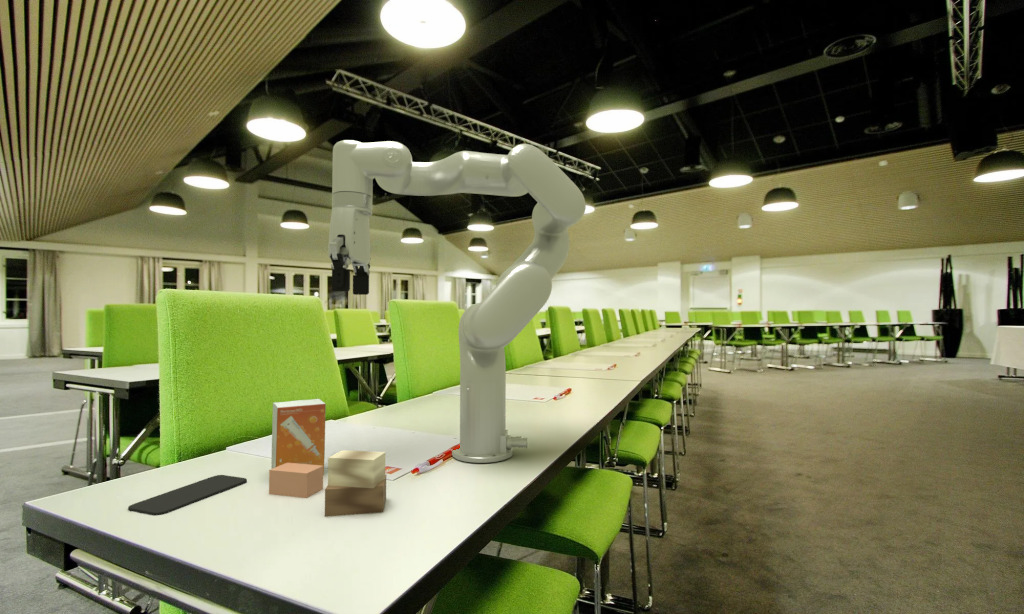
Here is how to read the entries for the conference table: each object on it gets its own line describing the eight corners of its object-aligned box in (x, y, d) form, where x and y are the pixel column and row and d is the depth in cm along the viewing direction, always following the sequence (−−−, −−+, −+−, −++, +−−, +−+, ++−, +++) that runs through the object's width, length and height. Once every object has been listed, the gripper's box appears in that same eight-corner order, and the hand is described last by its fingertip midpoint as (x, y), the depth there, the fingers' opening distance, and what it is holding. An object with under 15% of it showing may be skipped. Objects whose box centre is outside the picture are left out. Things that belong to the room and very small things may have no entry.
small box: (274, 484, 77) (276, 407, 78) (270, 474, 83) (272, 401, 83) (325, 475, 82) (326, 402, 82) (318, 466, 87) (319, 397, 88)
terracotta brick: (322, 490, 75) (323, 465, 75) (306, 499, 71) (306, 473, 71) (286, 486, 77) (287, 462, 77) (268, 495, 73) (269, 469, 73)
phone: (123, 507, 67) (218, 474, 81) (123, 512, 67) (218, 478, 81) (159, 513, 65) (250, 478, 79) (159, 519, 65) (250, 483, 79)
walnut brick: (386, 500, 71) (386, 474, 71) (383, 513, 66) (383, 485, 66) (331, 504, 69) (332, 477, 70) (324, 518, 64) (325, 489, 65)
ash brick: (385, 478, 69) (385, 452, 69) (373, 488, 65) (373, 459, 65) (341, 476, 70) (342, 450, 70) (327, 485, 66) (328, 457, 66)
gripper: (351, 216, 99) (350, 295, 98) (312, 194, 81) (311, 289, 81) (385, 216, 98) (384, 295, 98) (353, 193, 81) (352, 289, 80)
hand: (351, 292), depth 89 cm, fingers open, 9 cm apart
